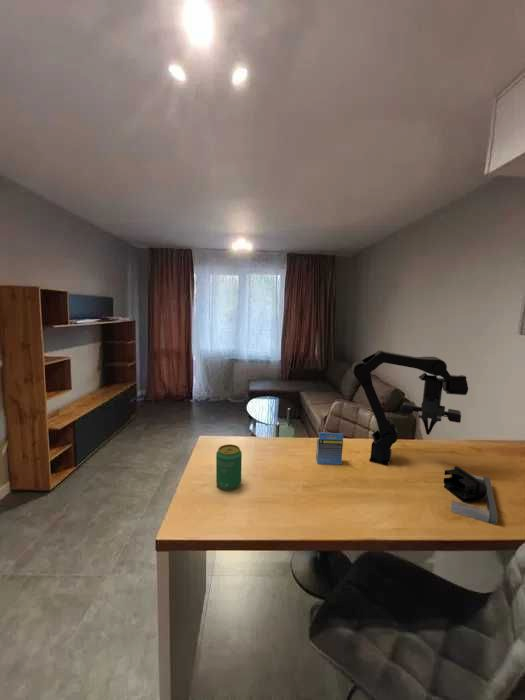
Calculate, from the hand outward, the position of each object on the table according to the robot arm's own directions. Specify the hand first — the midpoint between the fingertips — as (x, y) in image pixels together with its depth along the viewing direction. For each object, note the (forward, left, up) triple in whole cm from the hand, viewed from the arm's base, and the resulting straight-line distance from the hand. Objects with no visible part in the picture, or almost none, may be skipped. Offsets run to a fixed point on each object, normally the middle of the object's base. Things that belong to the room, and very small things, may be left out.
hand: (427, 434), depth 119 cm
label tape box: (-31, -17, -12) cm, 37 cm away
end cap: (+12, -13, -12) cm, 22 cm away
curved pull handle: (+13, -15, -12) cm, 23 cm away
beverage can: (-54, -48, -12) cm, 73 cm away
